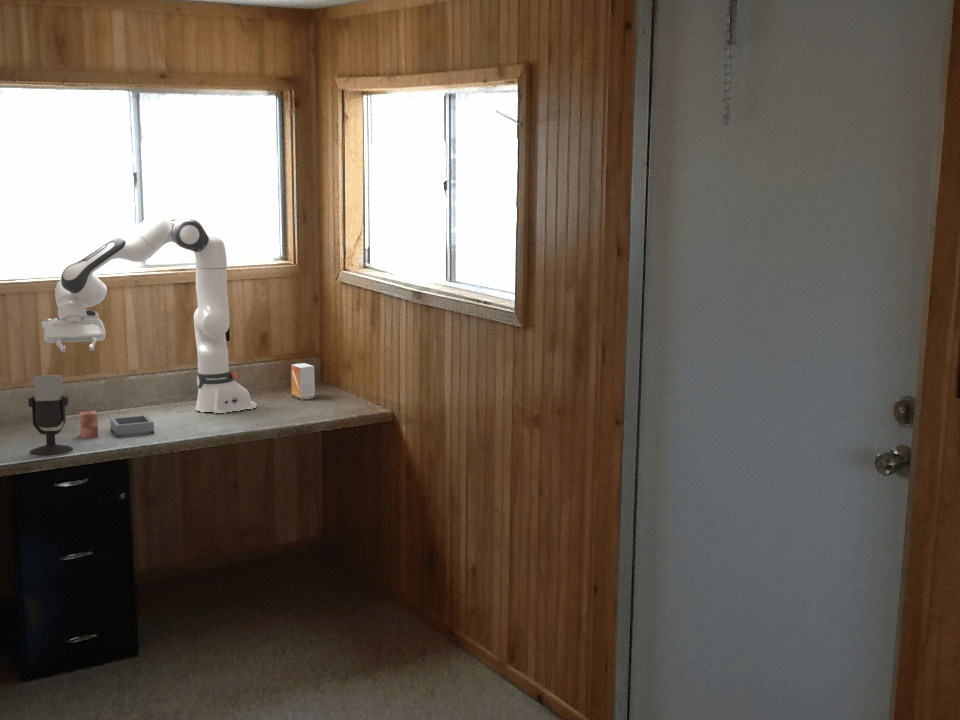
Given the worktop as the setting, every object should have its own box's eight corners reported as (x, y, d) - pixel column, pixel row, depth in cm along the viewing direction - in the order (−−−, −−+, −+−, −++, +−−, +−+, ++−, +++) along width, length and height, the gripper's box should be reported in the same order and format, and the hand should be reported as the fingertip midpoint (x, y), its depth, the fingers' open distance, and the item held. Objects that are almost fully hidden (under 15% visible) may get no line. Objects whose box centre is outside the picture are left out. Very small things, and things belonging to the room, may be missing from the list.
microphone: (75, 445, 370) (71, 370, 366) (69, 456, 358) (65, 377, 353) (33, 447, 368) (28, 371, 363) (26, 457, 355) (20, 379, 351)
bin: (146, 426, 398) (146, 414, 397) (154, 433, 387) (153, 422, 386) (110, 429, 392) (110, 418, 391) (117, 437, 381) (116, 425, 381)
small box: (291, 397, 446) (290, 364, 444) (306, 395, 450) (305, 362, 447) (300, 400, 439) (300, 367, 437) (315, 398, 443) (314, 365, 441)
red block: (96, 433, 386) (94, 410, 385) (98, 436, 382) (97, 413, 381) (80, 435, 384) (79, 412, 383) (82, 438, 380) (81, 415, 378)
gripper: (41, 313, 393) (46, 346, 386) (102, 312, 403) (109, 343, 396) (40, 324, 398) (45, 357, 391) (100, 322, 407) (106, 354, 401)
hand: (77, 350), depth 394 cm, fingers open, 8 cm apart
